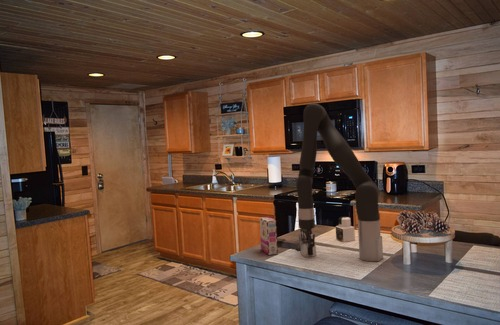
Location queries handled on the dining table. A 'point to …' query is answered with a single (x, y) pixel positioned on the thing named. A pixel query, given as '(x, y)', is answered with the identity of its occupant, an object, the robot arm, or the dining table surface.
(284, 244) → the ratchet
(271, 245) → the candy bar box
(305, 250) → the socket
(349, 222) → the medicine bottle
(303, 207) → the robot arm
